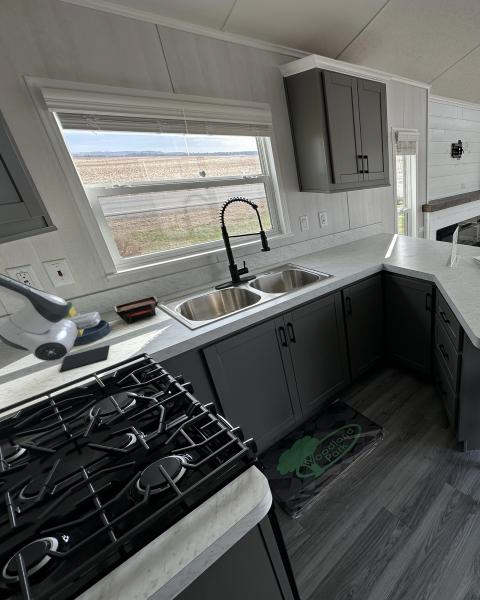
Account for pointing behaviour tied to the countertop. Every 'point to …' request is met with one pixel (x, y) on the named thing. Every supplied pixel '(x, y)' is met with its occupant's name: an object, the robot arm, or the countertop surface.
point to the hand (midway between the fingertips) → (67, 317)
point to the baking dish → (137, 309)
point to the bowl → (93, 333)
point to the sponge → (72, 313)
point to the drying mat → (84, 358)
